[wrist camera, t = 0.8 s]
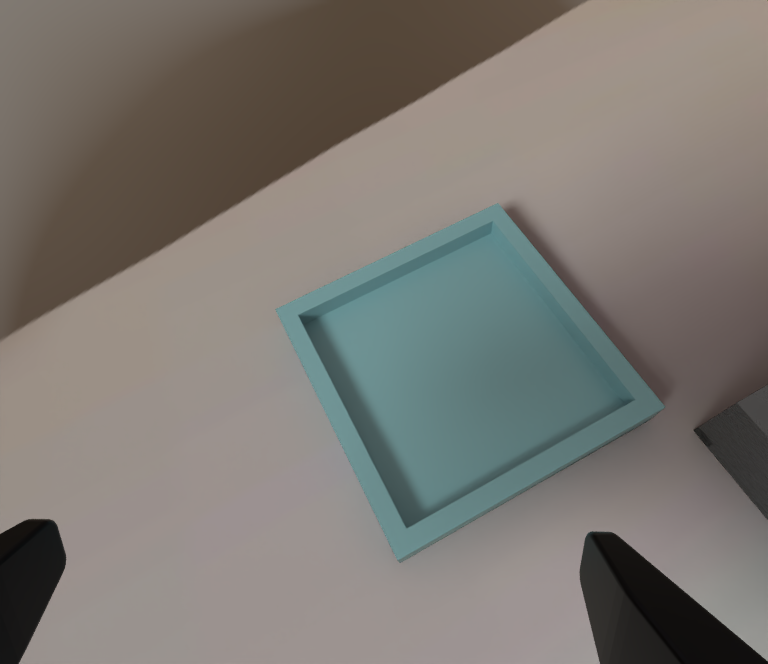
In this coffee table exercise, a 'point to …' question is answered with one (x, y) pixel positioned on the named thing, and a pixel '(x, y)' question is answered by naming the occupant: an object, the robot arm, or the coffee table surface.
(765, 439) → the holder
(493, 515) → the coffee table surface
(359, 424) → the tray
